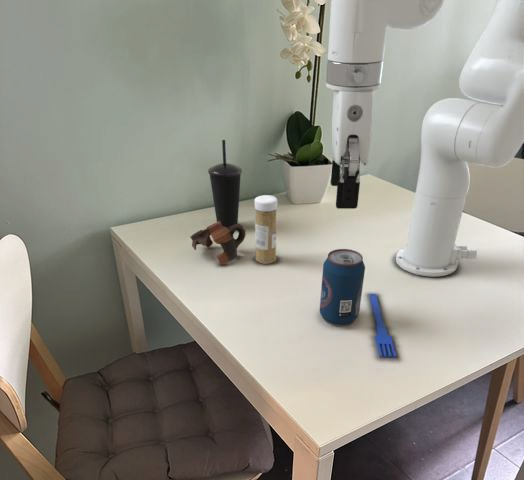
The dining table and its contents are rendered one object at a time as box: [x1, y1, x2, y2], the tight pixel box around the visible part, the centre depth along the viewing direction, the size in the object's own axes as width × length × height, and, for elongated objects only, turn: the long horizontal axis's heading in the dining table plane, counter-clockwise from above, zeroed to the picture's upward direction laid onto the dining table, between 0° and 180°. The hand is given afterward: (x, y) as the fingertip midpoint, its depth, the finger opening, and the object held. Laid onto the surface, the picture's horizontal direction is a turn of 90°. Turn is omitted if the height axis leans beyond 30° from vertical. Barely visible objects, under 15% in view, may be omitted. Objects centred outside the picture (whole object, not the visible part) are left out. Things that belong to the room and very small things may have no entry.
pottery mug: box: [189, 221, 247, 266], centre depth 109 cm, size 12×10×8 cm
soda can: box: [319, 248, 366, 327], centre depth 87 cm, size 7×7×12 cm
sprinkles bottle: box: [254, 194, 278, 265], centre depth 104 cm, size 5×5×14 cm
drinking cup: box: [207, 139, 243, 227], centre depth 116 cm, size 8×8×20 cm
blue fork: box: [368, 293, 397, 359], centre depth 88 cm, size 19×3×1 cm, turn 177°
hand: (343, 196), depth 80 cm, fingers open, 9 cm apart
